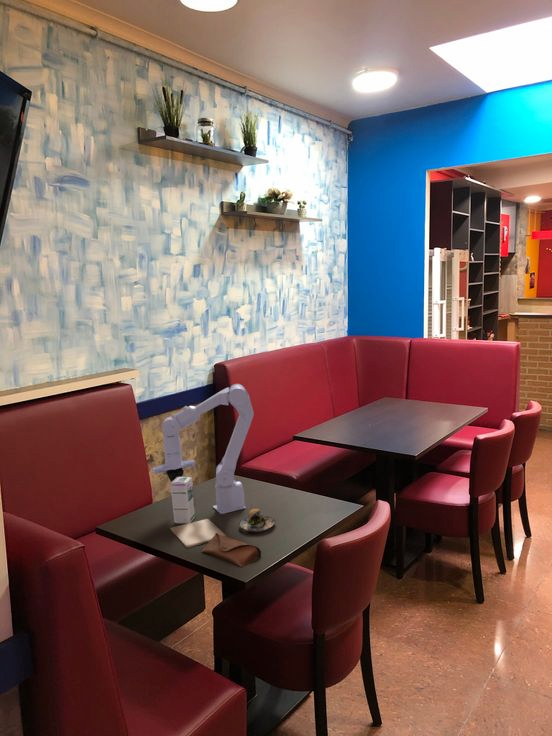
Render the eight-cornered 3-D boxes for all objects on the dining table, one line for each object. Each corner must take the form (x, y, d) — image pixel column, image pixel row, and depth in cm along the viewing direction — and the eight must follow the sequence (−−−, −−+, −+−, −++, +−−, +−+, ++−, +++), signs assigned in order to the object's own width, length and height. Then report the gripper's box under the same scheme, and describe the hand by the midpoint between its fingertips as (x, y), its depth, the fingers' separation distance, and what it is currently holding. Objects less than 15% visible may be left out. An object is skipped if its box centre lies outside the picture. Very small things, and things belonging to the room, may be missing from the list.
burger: (245, 538, 182) (244, 515, 180) (234, 524, 192) (232, 503, 191) (281, 530, 186) (280, 508, 185) (268, 517, 197) (266, 496, 196)
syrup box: (190, 524, 194) (187, 482, 192) (173, 523, 195) (170, 481, 193) (196, 517, 200) (192, 476, 197) (179, 516, 201) (176, 476, 199)
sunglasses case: (197, 551, 173) (204, 529, 175) (212, 555, 179) (218, 533, 180) (242, 568, 162) (249, 543, 164) (257, 571, 168) (263, 547, 169)
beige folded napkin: (207, 520, 197) (207, 518, 196) (226, 537, 182) (226, 535, 182) (170, 529, 191) (170, 527, 190) (187, 547, 177) (186, 546, 176)
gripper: (189, 445, 208) (191, 482, 210) (148, 453, 201) (152, 490, 203) (195, 450, 201) (198, 488, 203) (154, 458, 195) (158, 497, 197)
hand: (175, 489), depth 203 cm, fingers closed
